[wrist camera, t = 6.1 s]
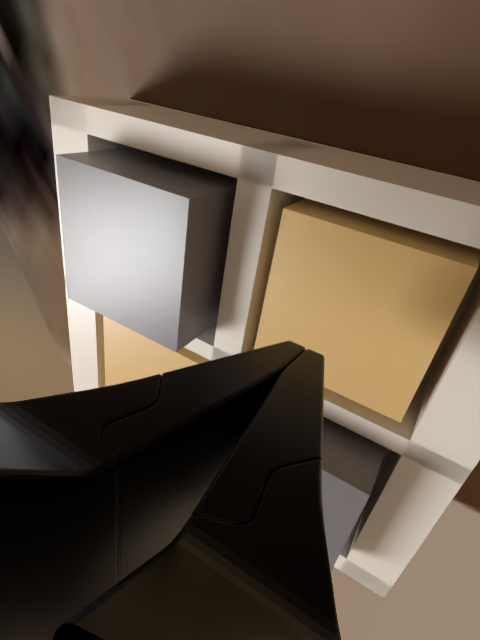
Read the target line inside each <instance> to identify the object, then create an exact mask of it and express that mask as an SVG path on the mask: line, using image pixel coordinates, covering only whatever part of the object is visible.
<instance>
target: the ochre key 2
mask: <svg viewBox="0 0 480 640" xmlns="http://www.w3.org/2000/svg"><path fill="white" fill-rule="evenodd" d="M479 258H480V249H478V248H475V247H471V246H468V245H464V244H461V243H457V242H454V241H451V240H447V239H444V238H440V237H437V236H434V235H430V234H427V233H423V232H420V231H417V230H413V229H410V228H406V227H403V226H399V225H396V224H393V223H389V222H386V221H382V220H379V219H376V218H372V217H369V216H365V215H362V214H358V213H355V212H352V211H348V210H345V209H341V208H338V207H335V206H331V205H328V204H324V203H321V202H318V201H314V200H311V199H307V198H305V199H303V200H301V201H299V202H296V203H294V204H292V205H289V206H287V207H285V208H283V212H282V216H281V221H280V226H279V231H278V236H277V240H276V245H275V250H274V255H273V260H272V265H271V269H270V274H269V279H268V284H267V289H266V293H265V298H264V303H263V308H262V313H261V317H260V322H259V327H258V332H257V337H256V341H255V346H254V349H258V348H261V347H265V346H269V345H273V344H277V343H281V342H284V341H292V342H294V343H297V344H299V345H301V346H303V347H305V349H310V350H313V351H315V352H317V353H320V354H322V355H323V356H324V358H325V363H324V387H325V388H327V389H329V390H332V391H334V392H336V393H338V394H340V395H342V396H344V397H346V398H349V399H351V400H353V401H355V402H357V403H359V404H361V405H364V406H366V407H368V408H370V409H372V410H374V411H376V412H379V413H381V414H383V415H385V416H387V417H389V418H391V419H393V420H396V421H398V422H400V423H401V421H402V419H403V417H404V415H405V413H406V411H407V409H408V407H409V405H410V403H411V401H412V399H413V397H414V395H415V393H416V391H417V389H418V387H419V385H420V383H421V381H422V379H423V377H424V375H425V373H426V371H427V369H428V367H429V365H430V363H431V361H432V359H433V357H434V355H435V353H436V351H437V349H438V347H439V345H440V343H441V341H442V339H443V337H444V335H445V333H446V331H447V329H448V327H449V325H450V323H451V321H452V319H453V317H454V315H455V313H456V311H457V309H458V307H459V305H460V303H461V301H462V299H463V297H464V295H465V293H466V291H467V289H468V287H469V285H470V283H471V281H472V279H473V277H474V275H475V273H476V271H477V269H478V265H479Z"/></svg>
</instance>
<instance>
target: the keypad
mask: <svg viewBox="0 0 480 640" xmlns="http://www.w3.org/2000/svg"><path fill="white" fill-rule="evenodd" d="M49 102H50V113H51V125H52V137H53V148H54V160H55V172H56V184H57V195H58V207H59V219H60V230H61V242H62V254H63V266H64V277H65V289H66V301H67V312H68V324H69V336H70V347H71V359H72V371H73V382H74V392H77V391H83V390H89V389H94V388H99V387H104V386H105V358H104V326H103V315H101V314H99V313H97V312H95V311H93V310H91V309H89V308H87V307H85V306H83V305H81V304H79V303H77V302H75V301H73V300H71V299H69V298H68V294H67V282H66V270H65V258H64V246H63V234H62V222H61V210H60V198H59V186H58V174H57V162H56V155H57V154H68V153H79V152H89V151H100V150H111V149H122V148H135V149H138V150H141V151H145V152H148V153H152V154H155V155H158V156H162V157H165V158H169V159H172V160H175V161H179V162H182V163H186V164H189V165H192V166H196V167H199V168H203V169H206V170H209V171H213V172H216V173H220V174H223V175H226V176H230V177H233V178H237V186H236V193H235V200H234V207H233V214H232V221H231V228H230V235H229V242H228V249H227V256H226V263H225V270H224V277H223V284H222V291H221V298H220V305H219V312H218V319H217V323H216V324H215V325H213V326H212V327H211V328H209V329H208V330H206V331H205V332H204V333H202V334H201V335H200V336H198V337H197V338H196V339H194V340H193V341H191V342H190V343H189V344H187V345H186V346H185V348H187V349H189V350H191V351H193V352H195V353H197V354H199V355H201V356H203V357H205V358H207V359H209V360H215V359H219V358H223V357H227V356H231V355H234V354H238V353H242V352H246V351H250V350H254V346H255V341H256V337H257V332H258V327H259V322H260V317H261V313H262V308H263V303H264V298H265V293H266V289H267V284H268V279H269V274H270V269H271V265H272V260H273V255H274V250H275V245H276V240H277V236H278V231H279V226H280V221H281V216H282V212H283V208H285V207H287V206H289V205H292V204H294V203H296V202H299V201H301V200H303V199H305V198H307V199H311V200H314V201H318V202H321V203H324V204H328V205H331V206H335V207H338V208H341V209H345V210H348V211H352V212H355V213H358V214H362V215H365V216H369V217H372V218H376V219H379V220H382V221H386V222H389V223H393V224H396V225H399V226H403V227H406V228H410V229H413V230H417V231H420V232H423V233H427V234H430V235H434V236H437V237H440V238H444V239H447V240H451V241H454V242H457V243H461V244H464V245H468V246H471V247H475V248H478V249H480V182H479V181H474V180H470V179H466V178H462V177H458V176H453V175H449V174H445V173H441V172H437V171H432V170H428V169H424V168H420V167H415V166H411V165H407V164H403V163H399V162H394V161H390V160H386V159H382V158H378V157H373V156H369V155H365V154H361V153H356V152H352V151H348V150H344V149H340V148H335V147H331V146H327V145H323V144H319V143H314V142H310V141H306V140H302V139H297V138H293V137H289V136H285V135H281V134H276V133H272V132H268V131H264V130H260V129H255V128H251V127H247V126H243V125H238V124H234V123H230V122H226V121H222V120H217V119H213V118H209V117H205V116H201V115H196V114H192V113H188V112H184V111H179V110H175V109H171V108H167V107H163V106H158V105H154V104H150V103H146V102H141V101H137V100H133V99H128V98H103V97H78V96H54V95H49ZM323 416H324V417H326V418H328V419H330V420H332V421H334V422H336V423H338V424H340V425H342V426H344V427H346V428H348V429H350V430H352V431H354V432H356V433H358V434H360V435H362V436H364V437H366V438H368V439H370V440H372V441H374V442H376V443H378V444H380V445H382V446H384V447H386V451H385V453H384V456H383V459H382V462H381V465H380V468H379V471H378V474H377V477H376V479H375V482H374V485H373V488H372V491H371V494H370V496H369V498H368V500H367V502H366V504H365V506H364V508H363V510H362V512H361V514H360V516H359V518H358V520H357V522H356V524H355V526H354V528H353V530H352V531H351V533H350V535H349V537H348V539H347V541H346V543H345V545H344V547H343V549H342V551H341V553H340V555H339V557H338V559H337V561H336V563H335V565H334V567H335V568H337V569H338V570H340V571H342V572H343V573H345V574H346V575H348V576H350V577H351V578H353V579H354V580H356V581H357V582H359V583H361V584H362V585H364V586H365V587H367V588H368V589H370V590H372V591H373V592H375V593H376V594H378V595H380V596H381V597H383V598H384V597H385V596H386V595H387V593H388V592H389V590H390V589H391V587H392V586H393V584H394V583H395V581H396V580H397V579H398V577H399V576H400V574H401V573H402V571H403V570H404V569H405V567H406V566H407V564H408V563H409V561H410V560H411V558H412V557H413V556H414V554H415V553H416V551H417V550H418V548H419V547H420V545H421V544H422V543H423V541H424V540H425V538H426V537H427V535H428V534H429V532H430V531H431V530H432V528H433V527H434V525H435V524H436V522H437V521H438V519H439V518H440V517H441V515H442V514H443V512H444V511H445V509H446V508H447V506H448V505H449V504H450V502H451V501H452V499H453V498H454V496H455V495H456V493H457V492H458V491H459V489H460V488H461V486H462V485H463V483H464V482H465V480H466V479H467V478H468V476H469V475H470V473H471V472H472V470H473V469H474V467H475V466H476V465H477V463H478V462H479V460H480V258H479V265H478V269H477V271H476V273H475V275H474V277H473V279H472V281H471V283H470V285H469V287H468V289H467V291H466V293H465V295H464V297H463V299H462V301H461V303H460V305H459V307H458V309H457V311H456V313H455V315H454V317H453V319H452V321H451V323H450V325H449V327H448V329H447V331H446V333H445V335H444V337H443V339H442V341H441V343H440V345H439V347H438V349H437V351H436V353H435V355H434V357H433V359H432V361H431V363H430V365H429V367H428V369H427V371H426V373H425V375H424V377H423V379H422V381H421V383H420V385H419V387H418V389H417V391H416V393H415V395H414V397H413V399H412V401H411V403H410V405H409V407H408V409H407V411H406V413H405V415H404V417H403V419H402V421H401V423H400V422H398V421H396V420H393V419H391V418H389V417H387V416H385V415H383V414H381V413H379V412H376V411H374V410H372V409H370V408H368V407H366V406H364V405H361V404H359V403H357V402H355V401H353V400H351V399H349V398H346V397H344V396H342V395H340V394H338V393H336V392H334V391H332V390H329V389H327V388H325V387H324V402H323Z"/></svg>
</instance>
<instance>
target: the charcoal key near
mask: <svg viewBox="0 0 480 640" xmlns="http://www.w3.org/2000/svg"><path fill="white" fill-rule="evenodd" d="M56 162H57V174H58V186H59V198H60V210H61V222H62V234H63V246H64V258H65V270H66V282H67V294H68V298H69V299H71V300H73V301H75V302H77V303H79V304H81V305H83V306H85V307H87V308H89V309H91V310H93V311H95V312H97V313H99V314H101V315H103V316H105V317H107V318H109V319H111V320H113V321H115V322H117V323H119V324H121V325H123V326H125V327H127V328H129V329H131V330H133V331H135V332H137V333H139V334H141V335H143V336H144V337H146V338H148V339H150V340H152V341H154V342H156V343H158V344H160V345H162V346H164V347H166V348H168V349H170V350H172V351H174V352H178V351H179V350H181V349H182V348H183V347H185V346H186V345H187V344H189V343H190V342H191V341H193V340H194V339H196V338H197V337H198V336H200V335H201V334H202V333H204V332H205V331H206V330H208V329H209V328H211V327H212V326H213V325H215V324H216V323H217V319H218V312H219V305H220V298H221V291H222V284H223V277H224V270H225V263H226V256H227V249H228V242H229V235H230V228H231V221H232V214H233V207H234V200H235V193H236V186H237V178H233V177H230V176H226V175H223V174H220V173H216V172H213V171H209V170H206V169H203V168H199V167H196V166H192V165H189V164H186V163H182V162H179V161H175V160H172V159H169V158H165V157H162V156H158V155H155V154H152V153H148V152H145V151H141V150H138V149H135V148H122V149H111V150H100V151H89V152H79V153H68V154H57V155H56Z"/></svg>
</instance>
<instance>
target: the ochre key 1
mask: <svg viewBox="0 0 480 640" xmlns="http://www.w3.org/2000/svg"><path fill="white" fill-rule="evenodd" d="M103 326H104V358H105V386H110V385H115V384H120V383H124V382H128V381H133V380H137V379H141V378H145V377H149V376H153V375H157V374H161V376H162V374H163V373H165V372H169V371H173V370H177V369H180V368H184V367H188V366H192V365H196V364H200V363H204V362H207V361H211V360H209V359H207V358H205V357H203V356H201V355H199V354H197V353H195V352H193V351H191V350H189V349H187V348H185V347H183V348H182V349H181V350H179V351H178V352H174V351H172V350H170V349H168V348H166V347H164V346H162V345H160V344H158V343H156V342H154V341H152V340H150V339H148V338H146V337H144V336H143V335H141V334H139V333H137V332H135V331H133V330H131V329H129V328H127V327H125V326H123V325H121V324H119V323H117V322H115V321H113V320H111V319H109V318H107V317H105V316H103Z"/></svg>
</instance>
